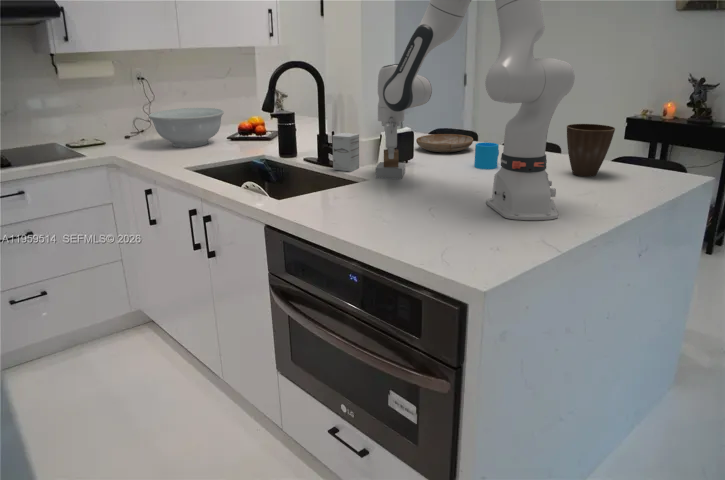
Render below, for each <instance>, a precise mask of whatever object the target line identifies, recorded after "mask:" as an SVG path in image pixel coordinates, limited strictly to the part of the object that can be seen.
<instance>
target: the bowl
mask: <svg viewBox="0 0 725 480" xmlns="http://www.w3.org/2000/svg"><path fill="white" fill-rule="evenodd" d="M224 113H225V112H224V110H223V109H221V108H215V107H214V108H213V107H212V108H211V107H190V108H189V107H187V108H176V109H167V110H161V111H155V112H152V113H150V114H148V118H149V119H150V120H151V121H152V123H153V125H154V129H155V131H156V133H157V134H158V135H159V136H160V137H161V138H162V139H164V140H166V141H169V142H171V143H172V146H173V147H176V148H184V149H185V148H195V147H196V148H197V147H202V146H205V145H207V144H208V143H209V141H208V140H209V139H212V138H213V137H215V136H216V135H217V134H218V133H219V130H220V127H221V124H222V123H221V121H222V117H223V115H224Z"/></svg>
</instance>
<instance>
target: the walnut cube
mask: <svg viewBox="0 0 725 480" xmlns="http://www.w3.org/2000/svg"><path fill="white" fill-rule="evenodd" d="M399 159H400V158H399V148H398V149H397V148H396V149H395V148H394V158H393V159H389V158H388V148H387V149H383V162H384V167H398V164H399V163H400V162H399V161H400V160H399Z"/></svg>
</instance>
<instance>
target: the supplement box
mask: <svg viewBox="0 0 725 480" xmlns="http://www.w3.org/2000/svg"><path fill="white" fill-rule="evenodd" d="M359 168H360V133H351V132H350V133H349V132H338V133H336V134H333V135H332V170H333V171H342V172H343V171H344V172H347V173H350V172H354V171H355V170H358V169H359Z"/></svg>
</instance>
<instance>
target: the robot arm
mask: <svg viewBox="0 0 725 480" xmlns="http://www.w3.org/2000/svg"><path fill="white" fill-rule="evenodd" d="M472 1H473V0H429V2H428V5H427V7H426V10H425V12H424V14H423V17H421V18H422V19H421V21H420V22H419V24H418V26H417V27H416V29H415V31H414V32H413V34H412V36H411V37H410V40H409V42H407V43H408V44H407V45H406V47H405V50H404V51H403V53H402V55H401V58H400V60H399V62H398V63H395V64H394V63H393V64H388V65H384V66H382V67H381V68H380V69H379V72H378V76H377V77H378V78H377V95H378V103H377V121H378V122H380V123H381V127H384V135H385V149H386V148H387V149H388V158H389V159H393V158H394V149H395V148H396V149H397V146H398V127H400V126H401V122H403V121H405V110H407V109H411V108H417V107H420V106H423V105H425V104H426V103H428V102H429V101H430V100H431V97H432V92H433V88H432V84H431V81H430V80H429V79H428V78H427V77H425V76H423V75H419V74H418V72H419V71H420V69H421V67H422V65H423V63H424V61H425V58H426V57H427V56H428V55H429V54H430V53H431V51H433V50H434V49H436V48H437V47H438V46H440V45H442V44H443V43H446V42H448V41H449V40H451V39H453V38H454V37H455V35H456V33H457V32H458V30H459V28H460V27H461V25H462V23H463V20H464V18H465V16H466V13H467V10H468V8H469V6H470V4H471V2H472ZM494 2H495V3H494V4H495V8H496V14H497V22H498V28H499V29H498V30H499V38H500V44H499V51H498V54H497V58H496V60H495V62H494V63H493V64H492V65H491V66H490V68H489V69H488V71H487V73H486V76H485V80H484V81H485V82H484V83H485V84H484V85H485V90H486V94H487V95H488V97H489V98H490V99H491V100H493V101H495V102H499V103H504V104H510V105H512V104H520V106H519V109H518V110H517V112H516V114H515V115H514V116H513V117H512V118H510V119H509V120H508V121H507V123H506V125H505V127H504V136H503V137H504V138H503V150H502V151H503V152H502V153H501V155H500V166H501V167H500V169H499V170H498V171H497V172H496V173H495V174H494V176H493V186H492V194H491V197H489V198H486V200H485V204H486V205H487V206H489V207H490V208H492V209H493V210H494V211H495V212H497V213H498V214H499V215H500V216H502V217H503V218H506V219H510V220H518V221H519V220H520V221H521V220H522V221H543V220H544V221H545V220H554V219H558V218H559V213H558V210H557V206H556V203H555V200H554V199H553V198H555V197H556V195H557V190H556V189H557V188H554V187H552V186H553V185H552V184H553V181H552V180H549V173H548V172H547V171H546V170H547V163H548V162H547V154H546V147H547V140H548V133H549V127H550V124H551V120H552V118H553V116H554V114H555V112H556V109H557V108H558V106H559V104H561V101H562V100H563V99H564V98H565V96H567V95H568V94H569V93H570V92H571V90H572V89H573V86H574V83H575V71H574V69H573V66H572V65H571V64H570V63H569V62H568V61H566V60H561V59H559V58H553V57H545V58H544V57H542V58H535V57H534V46H535V44H536V43H537V42H538V41H539V40H540V39H541V38H542V37H543V34H544V32H545V22H544V17H543V16H544V15H543V11H542V2H541V0H494Z"/></svg>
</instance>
